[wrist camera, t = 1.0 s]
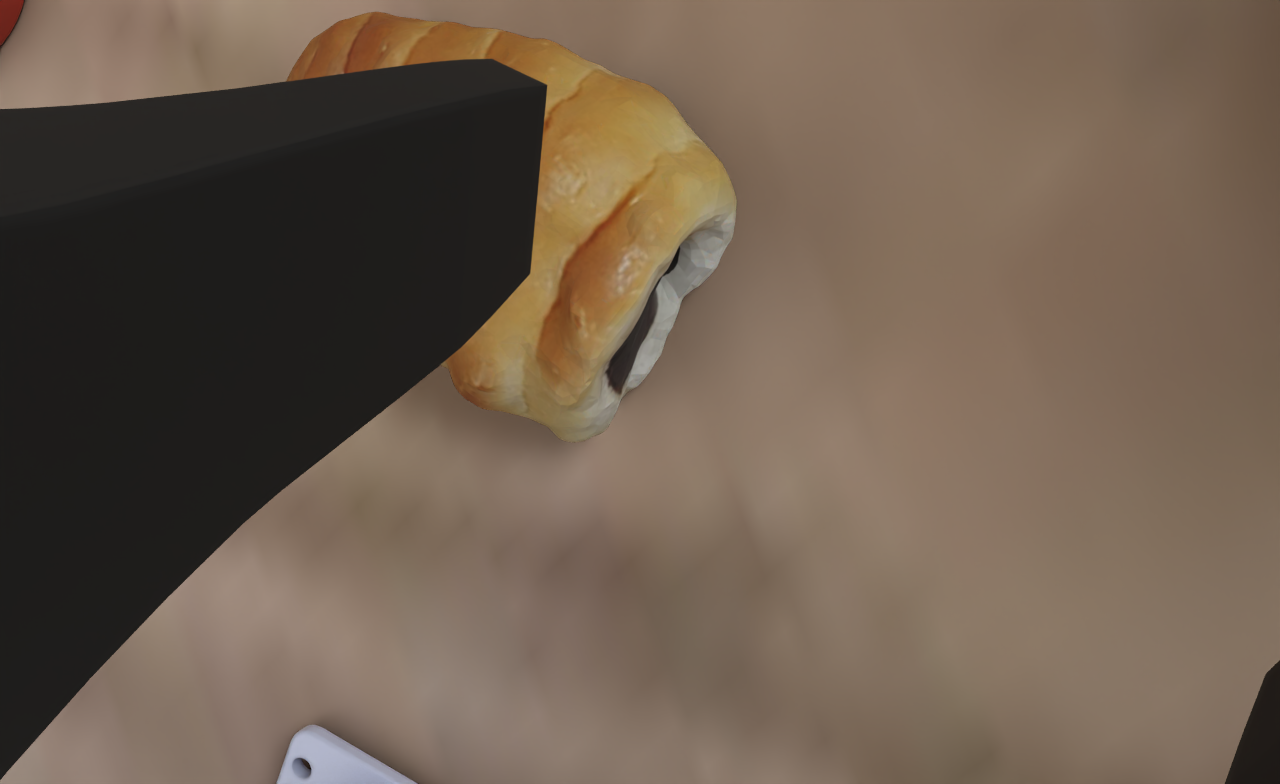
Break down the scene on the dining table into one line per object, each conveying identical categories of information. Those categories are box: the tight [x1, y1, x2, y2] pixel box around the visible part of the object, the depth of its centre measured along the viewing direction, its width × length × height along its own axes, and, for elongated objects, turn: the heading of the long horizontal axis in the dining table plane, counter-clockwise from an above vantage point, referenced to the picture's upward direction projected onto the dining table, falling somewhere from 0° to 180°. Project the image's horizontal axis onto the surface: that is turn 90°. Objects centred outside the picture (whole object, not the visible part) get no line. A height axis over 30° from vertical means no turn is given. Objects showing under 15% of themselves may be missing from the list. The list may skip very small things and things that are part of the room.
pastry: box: [286, 12, 737, 442], centre depth 21 cm, size 9×7×4 cm
